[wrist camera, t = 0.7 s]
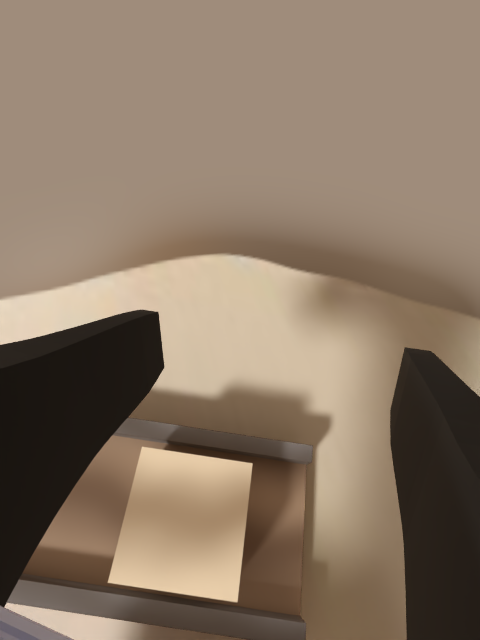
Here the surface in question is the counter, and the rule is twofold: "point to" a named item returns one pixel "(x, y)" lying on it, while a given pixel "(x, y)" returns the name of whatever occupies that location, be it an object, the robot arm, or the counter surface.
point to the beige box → (184, 525)
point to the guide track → (166, 607)
